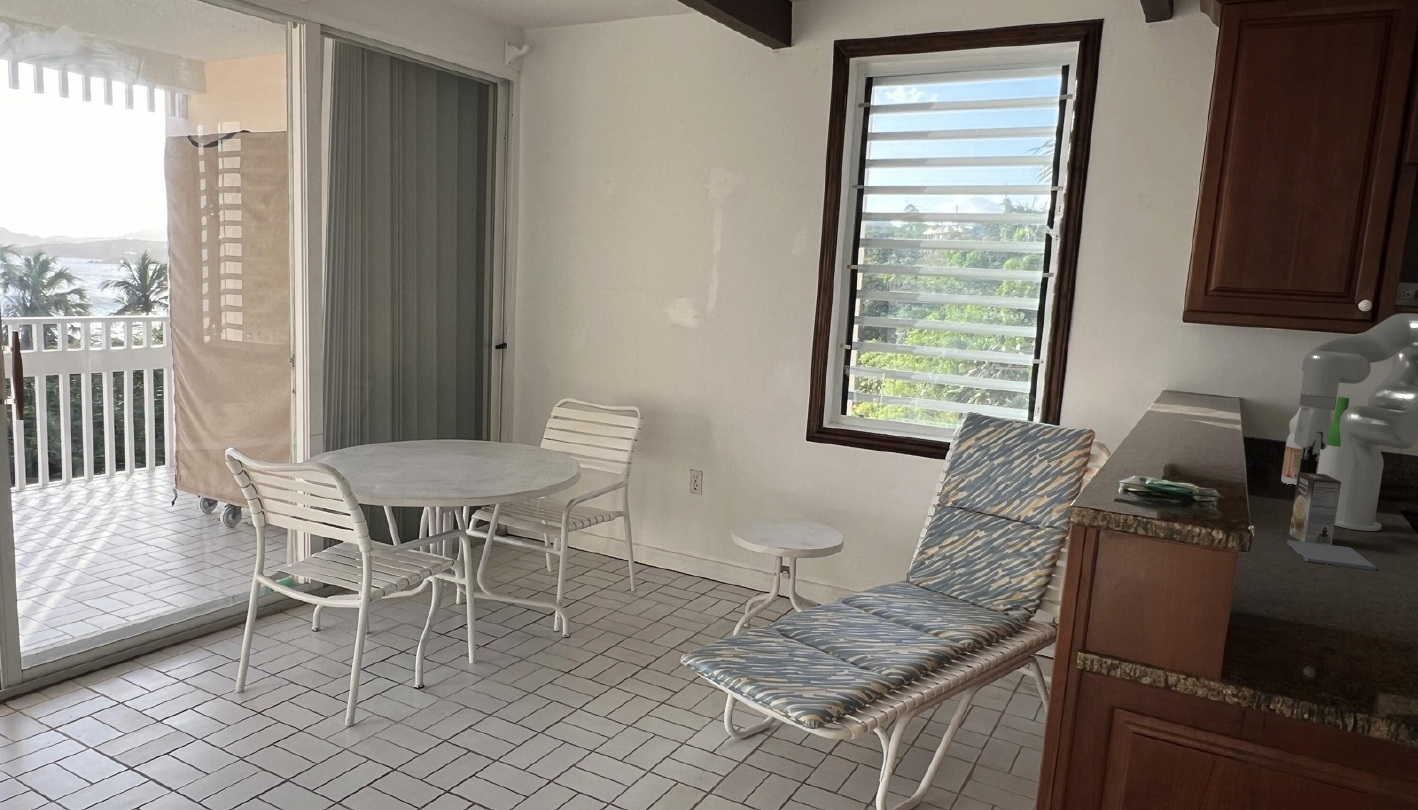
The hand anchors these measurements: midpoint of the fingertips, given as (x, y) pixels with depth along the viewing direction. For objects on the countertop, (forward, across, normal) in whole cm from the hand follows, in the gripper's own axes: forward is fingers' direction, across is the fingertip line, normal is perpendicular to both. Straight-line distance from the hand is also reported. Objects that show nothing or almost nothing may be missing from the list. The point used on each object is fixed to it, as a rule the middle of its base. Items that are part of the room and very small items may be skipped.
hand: (1307, 474), depth 228 cm
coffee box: (+15, +8, 0) cm, 17 cm away
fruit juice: (+14, -71, +18) cm, 74 cm away
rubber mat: (+15, +22, 0) cm, 27 cm away
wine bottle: (+14, -58, +23) cm, 64 cm away
